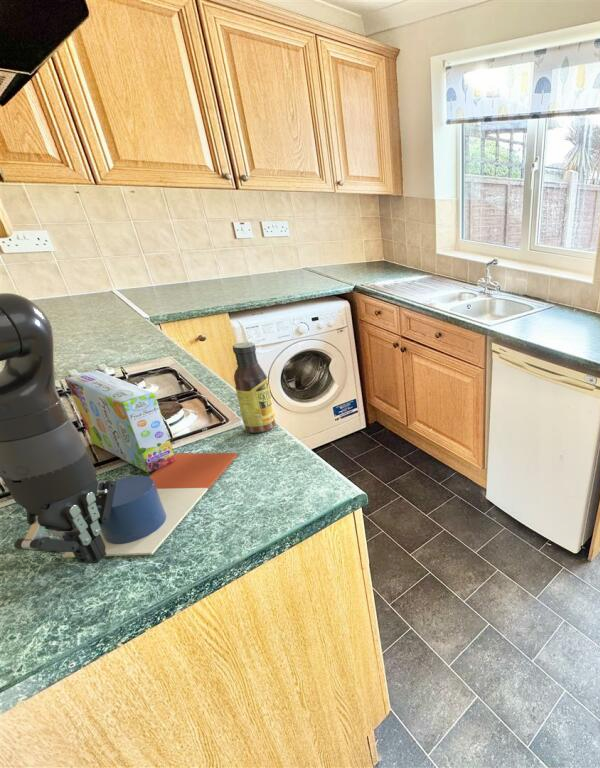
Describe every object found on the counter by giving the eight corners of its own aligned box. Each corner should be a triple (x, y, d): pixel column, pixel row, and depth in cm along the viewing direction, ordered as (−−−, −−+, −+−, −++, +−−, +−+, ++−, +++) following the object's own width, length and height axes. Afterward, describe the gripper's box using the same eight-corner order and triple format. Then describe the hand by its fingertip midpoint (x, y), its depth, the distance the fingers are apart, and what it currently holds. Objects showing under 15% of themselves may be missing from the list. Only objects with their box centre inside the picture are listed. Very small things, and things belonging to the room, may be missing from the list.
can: (90, 545, 63) (73, 509, 60) (127, 510, 70) (112, 476, 67) (146, 543, 64) (131, 507, 61) (176, 508, 71) (164, 475, 68)
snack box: (180, 459, 83) (156, 391, 76) (147, 475, 78) (118, 403, 72) (123, 431, 91) (96, 367, 84) (90, 444, 86) (59, 377, 80)
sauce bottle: (271, 434, 93) (253, 350, 85) (240, 435, 92) (219, 350, 84) (280, 419, 99) (264, 340, 91) (252, 420, 98) (233, 340, 90)
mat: (62, 557, 61) (61, 555, 61) (174, 455, 84) (174, 453, 84) (152, 554, 62) (151, 552, 62) (237, 454, 86) (237, 453, 86)
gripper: (57, 430, 58) (103, 526, 65) (-51, 493, 46) (19, 602, 53) (117, 430, 58) (155, 525, 66) (26, 491, 46) (84, 599, 54)
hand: (94, 559), depth 59 cm, fingers closed
